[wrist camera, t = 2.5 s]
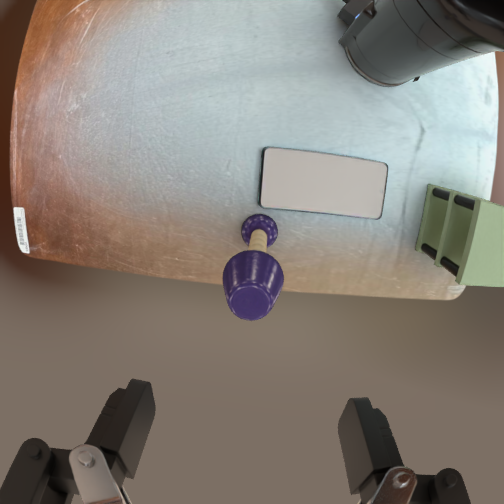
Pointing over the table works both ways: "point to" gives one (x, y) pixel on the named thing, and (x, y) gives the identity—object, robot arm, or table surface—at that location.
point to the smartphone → (321, 183)
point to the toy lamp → (254, 271)
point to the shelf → (463, 236)
